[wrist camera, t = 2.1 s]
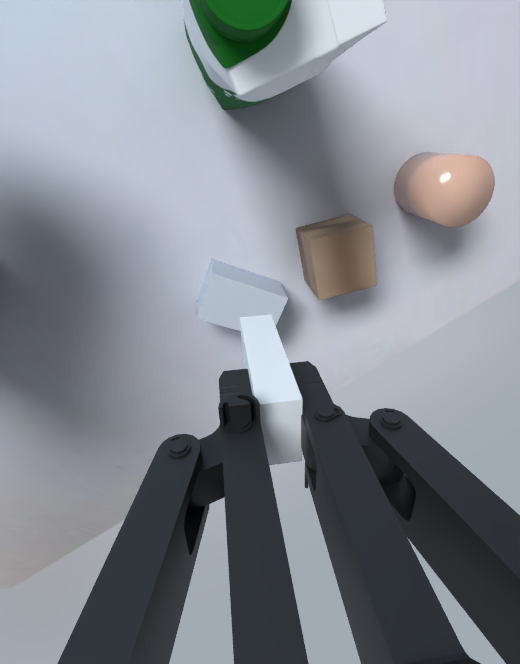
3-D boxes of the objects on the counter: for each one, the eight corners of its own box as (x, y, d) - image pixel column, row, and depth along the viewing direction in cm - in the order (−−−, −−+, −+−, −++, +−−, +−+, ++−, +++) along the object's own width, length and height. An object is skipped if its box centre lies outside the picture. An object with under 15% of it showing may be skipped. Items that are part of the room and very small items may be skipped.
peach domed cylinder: (390, 215, 40) (424, 229, 34) (397, 153, 38) (436, 157, 32) (442, 211, 41) (485, 224, 35) (453, 150, 38) (502, 153, 32)
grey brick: (197, 299, 42) (196, 318, 38) (211, 258, 40) (212, 273, 36) (262, 319, 44) (269, 339, 40) (279, 281, 42) (288, 298, 38)
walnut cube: (304, 279, 43) (319, 300, 37) (295, 228, 40) (309, 242, 34) (355, 266, 43) (377, 285, 37) (350, 213, 40) (372, 225, 35)
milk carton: (169, 10, 30) (127, -164, 13) (272, -45, 29) (378, -310, 12) (218, 125, 34) (238, 114, 17) (309, 79, 34) (429, 18, 16)
